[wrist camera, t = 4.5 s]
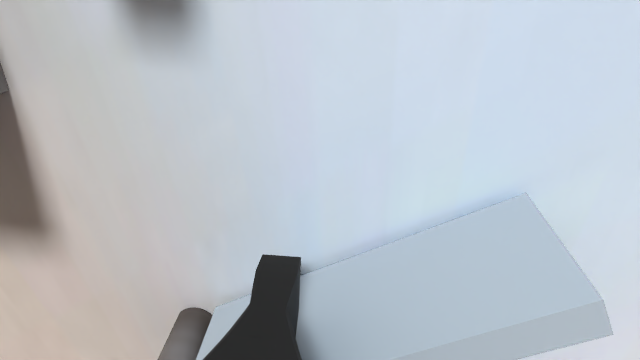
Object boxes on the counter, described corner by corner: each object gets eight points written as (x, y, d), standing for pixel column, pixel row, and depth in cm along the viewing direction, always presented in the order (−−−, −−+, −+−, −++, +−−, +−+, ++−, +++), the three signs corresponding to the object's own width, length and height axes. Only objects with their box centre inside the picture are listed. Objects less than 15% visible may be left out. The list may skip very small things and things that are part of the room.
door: (246, 341, 17) (214, 458, 13) (215, 306, 16) (172, 420, 12) (544, 243, 14) (621, 361, 10) (526, 192, 13) (602, 299, 9)
